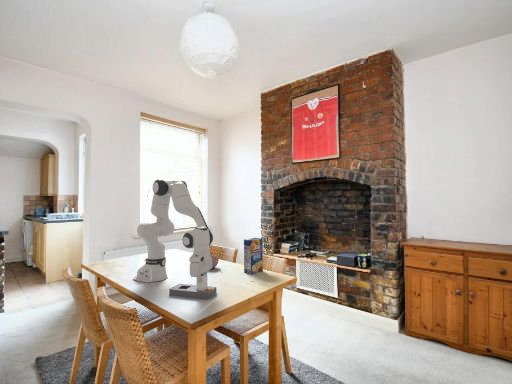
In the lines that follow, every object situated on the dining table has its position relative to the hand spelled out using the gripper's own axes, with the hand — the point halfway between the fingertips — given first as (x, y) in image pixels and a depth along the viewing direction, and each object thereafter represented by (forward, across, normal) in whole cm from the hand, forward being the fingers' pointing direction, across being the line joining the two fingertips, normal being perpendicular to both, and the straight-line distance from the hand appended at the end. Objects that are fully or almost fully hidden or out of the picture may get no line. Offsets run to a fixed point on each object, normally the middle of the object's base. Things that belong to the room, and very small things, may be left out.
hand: (202, 280), depth 153 cm
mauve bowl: (+8, -56, -22) cm, 61 cm away
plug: (+5, 0, 0) cm, 5 cm away
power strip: (+8, 0, -6) cm, 10 cm away
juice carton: (+9, -55, +13) cm, 57 cm away
